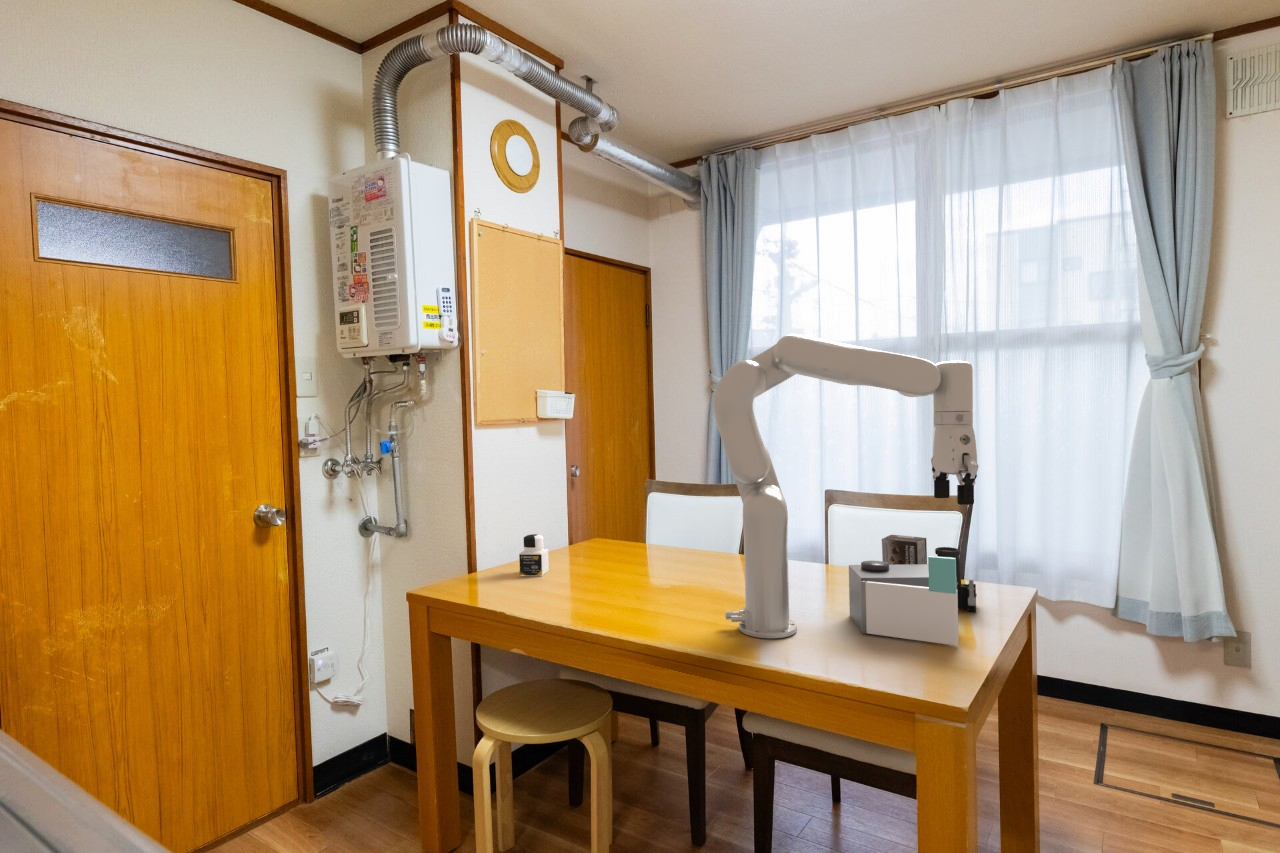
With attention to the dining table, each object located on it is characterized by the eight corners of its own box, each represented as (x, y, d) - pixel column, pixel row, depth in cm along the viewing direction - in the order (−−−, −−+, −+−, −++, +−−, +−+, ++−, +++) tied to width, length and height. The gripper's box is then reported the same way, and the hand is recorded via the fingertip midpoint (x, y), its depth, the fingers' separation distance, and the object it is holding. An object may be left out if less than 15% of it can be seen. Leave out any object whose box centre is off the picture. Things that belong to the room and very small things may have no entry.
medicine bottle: (519, 576, 204) (518, 537, 204) (527, 570, 211) (526, 533, 211) (542, 576, 203) (540, 537, 203) (549, 571, 210) (547, 533, 210)
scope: (975, 554, 155) (928, 551, 160) (976, 613, 156) (929, 609, 160) (976, 547, 163) (931, 545, 167) (977, 604, 163) (932, 600, 168)
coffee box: (929, 602, 166) (927, 537, 165) (919, 608, 161) (918, 541, 161) (892, 596, 172) (891, 533, 172) (882, 601, 167) (880, 537, 167)
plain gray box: (862, 632, 145) (860, 572, 145) (849, 615, 157) (848, 559, 157) (957, 632, 143) (956, 571, 143) (938, 615, 155) (936, 559, 155)
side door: (860, 632, 144) (858, 551, 143) (862, 630, 145) (860, 550, 144) (957, 646, 134) (956, 559, 134) (958, 643, 135) (956, 557, 135)
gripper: (993, 420, 133) (994, 506, 133) (949, 419, 150) (949, 495, 150) (956, 421, 132) (957, 507, 133) (916, 419, 150) (917, 496, 150)
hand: (953, 501), depth 142 cm, fingers open, 9 cm apart
